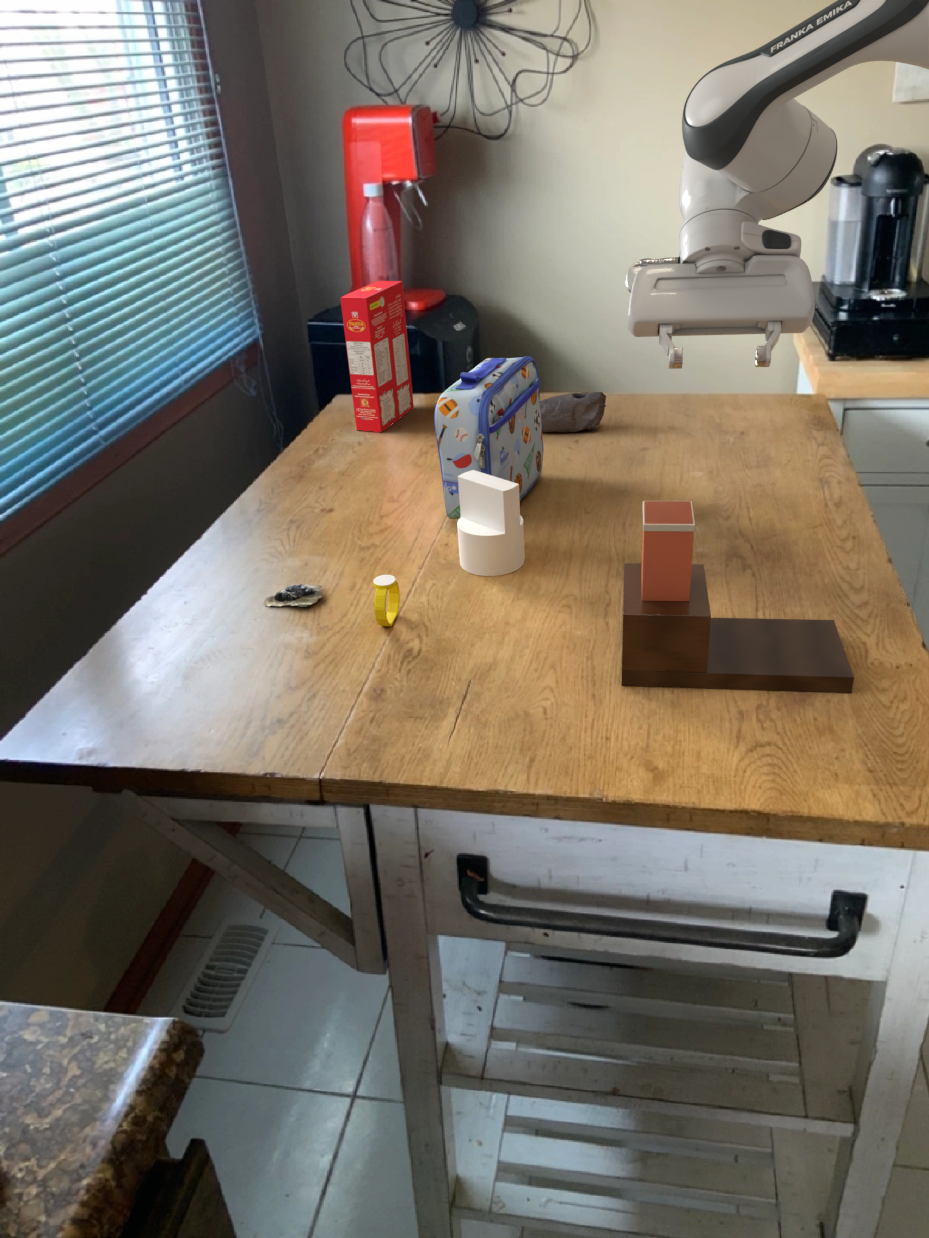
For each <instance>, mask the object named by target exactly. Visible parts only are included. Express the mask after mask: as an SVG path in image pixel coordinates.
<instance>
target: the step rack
mask: <svg viewBox="0 0 929 1238" xmlns="http://www.w3.org/2000/svg"><path fill="white" fill-rule="evenodd" d="M641 571H642V562H641V563H635V562H634V563H629V562H626V563H625V562H624V563H623V579H622V581H623V583H622V584H623V586H622V627H621V628H622V629H621V630H622V632H621V633H622V634H621V635H622V636H621V681H620V682H621V683H620V684H621V686H622V687H653V688H654V687H655V688H680V689H681V688H684V689H685V688H686V689H690V688H691V689H714V690H715V689H716V690H718V689H719V690H747V691H749V690H750V691H752V690H753V691H779V692H780V691H781V692H782V691H783V692H813V693H814V692H815V693H845V694H846V693H847V694H850V693H851V694H852V693H853V688H854V687H853V686H854V681H855V675H854V672H853V669H852V667H851V664H850V661H849V659H848V656H847V654H846V651H845V647H844V645H843V642H842V639H841V636H840V634H839V633H840V632H839V631H838V627H837V625H836V622H835V619H809V618H807V619H806V618H805V619H803V618H802V619H801V618H799V619H798V618H755V617H754V618H750V617H748V618H747V617H712V612H711V607H710V606H711V605H710V599H709V592H708V591H709V590H708V585H707V584H708V583H707V577H706V571H705V564H704V563H692V569H691V586H690V601H642V582H641Z"/></svg>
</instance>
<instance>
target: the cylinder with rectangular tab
mask: <svg viewBox="0 0 929 1238" xmlns="http://www.w3.org/2000/svg"><path fill="white" fill-rule="evenodd" d="M458 486H459V501H460V515H461V518H460V519H457V523H456V528H457V540H458V554H459V565H460V568H462V570H463V571H464V572H467V573H468V574H471V575H474V576H481V577H499V576H504V575H507V574H508V575H509V574H511V573H513V572H516V571H518V570H519V569H521V568H522V567H523V565H524V564H525V561H526V560H525V559H526V557H525V553H526V552H525V531H524V530H525V529H524V518H523V516H522V515H521V505H520V504H521V503H520V502H521V500H519V484H517V483H514V482H511V481H507V480H504V479H501V478H498V477H495V476H491V475H488V474H485V473H482V472H478V471H475V470H471V471H468V472H465V473H463V474H461V475H459V476H458Z"/></svg>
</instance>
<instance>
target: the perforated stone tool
mask: <svg viewBox="0 0 929 1238" xmlns="http://www.w3.org/2000/svg"><path fill="white" fill-rule="evenodd" d="M606 401H607V396H606V394H604V392H602V391H591V392H590V391H589V392H587V391H583V392H582V391H581V392H572V393H566V394H560V395H555V396H551V397H547V398H544V399H540V412H541V425H542V433H551V432H555V433H577V432H580V431H583V430H587V431H591V430H596V429H597V427H598V426H599V425H600V424H601V421H602V419H603V417H604V414H605V408H606V407H607V405H606Z"/></svg>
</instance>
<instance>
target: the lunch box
mask: <svg viewBox="0 0 929 1238" xmlns="http://www.w3.org/2000/svg"><path fill="white" fill-rule="evenodd" d="M459 377H460V378H459V379H458V380H456V381H455V382H454V383H452V385H450V386H449V387H448V388H446V389H445V390H444V391H443V392H442V393H441V394H440V396H439V397H438V400H437V401H436V405H435V409H434V416H433V417H434V429H435V438H436V439H435V440H436V446H437V447H436V448H437V454H438V460H439V467H440V475H441V482H442V491H443V492H442V493H443V500H444V507H445V512H446V515H447V518H449V519H450V520H459V519H460V518H461V515H460V501H459V486H458V476H459V475H461V474H463V473H465V472H468V471H471V470H475V471H478V472H482V473H485V474H488V475H491V476H495V477H498V478H501V479H504V480H507V481H511V482H514V483H517V484H519V500H520V501H521V500H522V499H523V498H524V497H525V496H526V495H527V494H528V493H529V491H530V489H532V487H533V486H534V484H535V483H536V482H537V480H538V479H539V477H540V475H541V474H542V470H543V463H544V439H543V432H542V425H541V412H540V401H541V391H540V390H541V389H540V374H539V370H538V365H537V363H536V361H535V359H534V358H533V357H532V356H531V355H525V356H521V357H509V358H508V357H486V358H485V359H484V360H483V361H481V362H480V363H478V364H477V365H476V366H475V367H474V368H472V369H471V370H470V371H468V372H465V371H462V372H460V375H459Z"/></svg>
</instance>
